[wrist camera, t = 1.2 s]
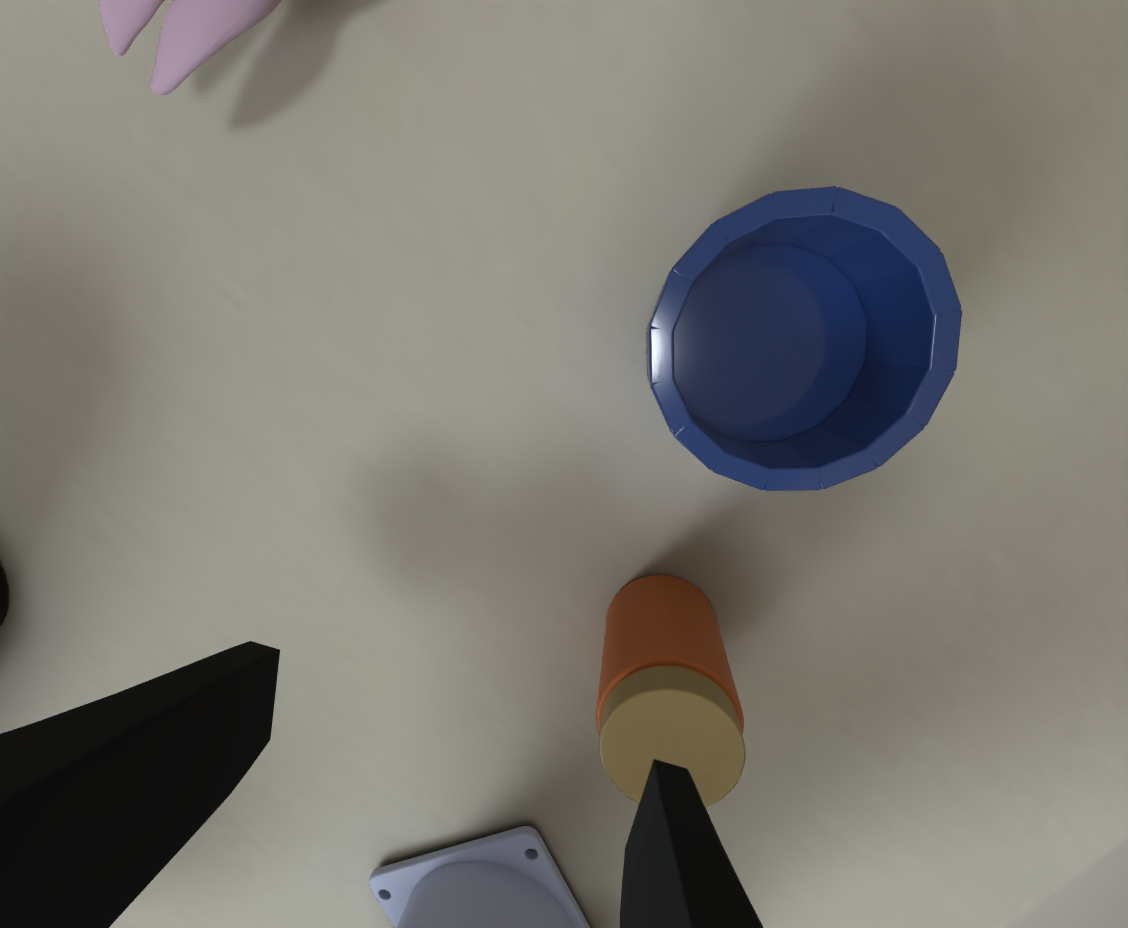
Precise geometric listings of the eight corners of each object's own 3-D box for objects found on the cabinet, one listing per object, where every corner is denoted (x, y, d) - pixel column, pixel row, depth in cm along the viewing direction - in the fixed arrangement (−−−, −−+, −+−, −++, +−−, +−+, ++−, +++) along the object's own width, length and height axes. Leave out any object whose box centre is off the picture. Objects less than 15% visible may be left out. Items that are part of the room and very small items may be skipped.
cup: (912, 401, 16) (1001, 421, 12) (697, 489, 18) (715, 532, 14) (831, 182, 15) (900, 125, 11) (611, 293, 17) (602, 278, 13)
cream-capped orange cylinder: (732, 652, 19) (776, 795, 13) (633, 685, 20) (631, 834, 14) (690, 558, 18) (715, 662, 12) (589, 596, 19) (567, 711, 13)
